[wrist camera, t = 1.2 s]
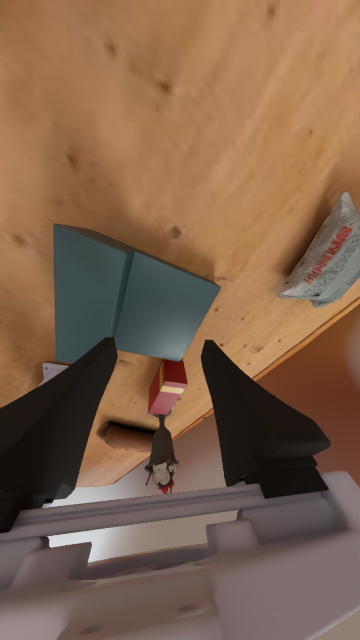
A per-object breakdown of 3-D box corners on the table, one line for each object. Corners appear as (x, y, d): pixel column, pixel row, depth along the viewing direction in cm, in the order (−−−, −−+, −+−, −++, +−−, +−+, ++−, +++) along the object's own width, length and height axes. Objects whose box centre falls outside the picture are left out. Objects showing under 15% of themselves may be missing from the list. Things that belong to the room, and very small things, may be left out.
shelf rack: (178, 352, 25) (182, 380, 20) (82, 330, 20) (55, 361, 15) (214, 282, 19) (234, 297, 14) (91, 229, 14) (52, 222, 9)
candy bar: (166, 390, 31) (167, 415, 26) (149, 388, 30) (147, 413, 25) (183, 361, 27) (188, 384, 22) (164, 357, 25) (165, 381, 21)
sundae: (179, 411, 36) (190, 504, 23) (159, 420, 37) (159, 513, 25) (164, 401, 33) (167, 503, 20) (143, 412, 34) (134, 515, 21)
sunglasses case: (93, 436, 36) (89, 461, 30) (108, 411, 37) (107, 430, 31) (149, 444, 43) (155, 466, 37) (160, 423, 45) (167, 441, 39)
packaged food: (265, 290, 21) (292, 303, 17) (324, 195, 15) (387, 177, 11) (304, 303, 23) (336, 316, 19) (367, 223, 18) (431, 218, 14)
